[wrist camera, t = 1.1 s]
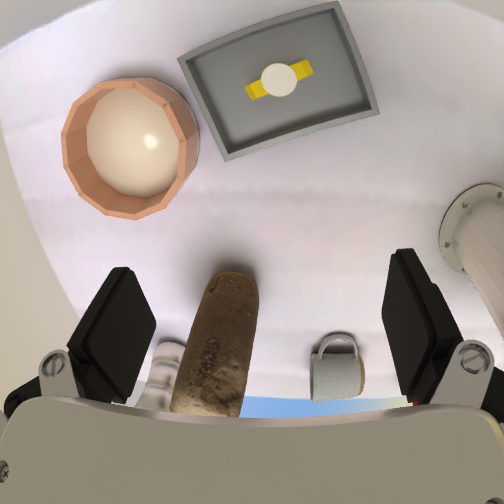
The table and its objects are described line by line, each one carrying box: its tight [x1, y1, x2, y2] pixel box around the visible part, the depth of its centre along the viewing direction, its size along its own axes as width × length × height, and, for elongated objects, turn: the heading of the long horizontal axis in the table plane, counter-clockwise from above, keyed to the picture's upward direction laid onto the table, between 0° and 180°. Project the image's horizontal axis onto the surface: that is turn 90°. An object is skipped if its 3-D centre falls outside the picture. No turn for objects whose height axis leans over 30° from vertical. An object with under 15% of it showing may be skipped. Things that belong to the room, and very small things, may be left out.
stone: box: [169, 272, 259, 418], centre depth 33 cm, size 12×7×20 cm, turn 169°
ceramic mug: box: [310, 334, 365, 402], centre depth 43 cm, size 11×8×8 cm
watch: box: [245, 60, 314, 100], centre depth 23 cm, size 6×3×6 cm, turn 118°
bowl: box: [61, 78, 200, 220], centre depth 29 cm, size 14×14×5 cm
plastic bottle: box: [134, 342, 186, 412], centre depth 42 cm, size 6×7×20 cm
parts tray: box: [177, 1, 380, 162], centre depth 24 cm, size 15×11×3 cm
